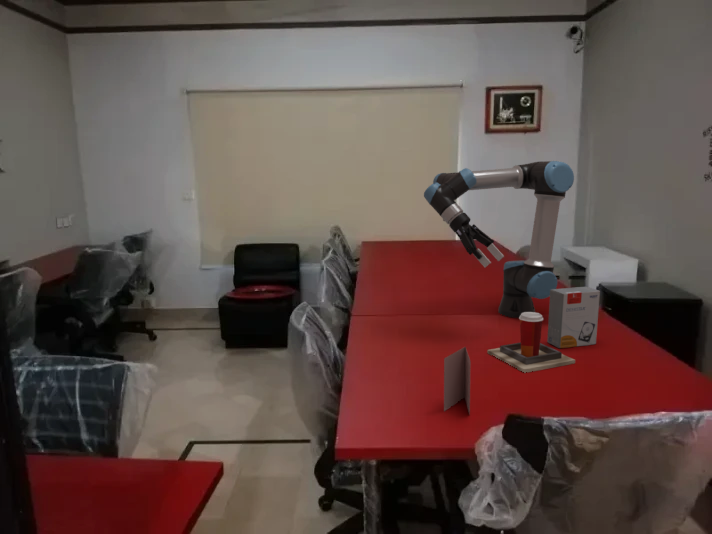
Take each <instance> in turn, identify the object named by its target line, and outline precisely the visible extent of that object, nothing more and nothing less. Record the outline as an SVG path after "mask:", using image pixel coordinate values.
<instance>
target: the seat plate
mask: <svg viewBox="0 0 712 534" xmlns="http://www.w3.org/2000/svg"><path fill="white" fill-rule="evenodd" d="M487 354H488V355H490V356H492V355H493V356H495V357H496V358H495V357H494V358H495V359H497V358H498V360H499V359H500V361H501V360H502V361H501V362H503V361H504V362H503V363H505V362H506V363H508V364H509V365H508V364H507V365H508V366H510V365H511V366H510V367H512V366H513V367H512V368H514V367H515V368H514V369H516V368H517V369H516V370H518V371H520V372H521V371H522V373H523V372H524V374H526V372H527V373H531V372H532V371H533V372H537V371H542V370H547V369H553V368H557V367H558V368H559V367H563V366H568V365H575V364H576V359H574V358H572V357H569V356H567V355H565V354H563V353H562V352H561V351H559V350H557V349H554V348H553V347H551V346H547V345H545V344H543V343H541V342H540V348H539V355H538V356H532V357H525V356H523V355H521V341H520V342H516V343H515V342H514V343H510V344H504V345H503V344H502V345H500V346H499V347H497V348H491V349H487ZM493 356H492V357H493ZM506 363H505V364H506Z"/></svg>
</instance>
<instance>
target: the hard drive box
mask: <svg viewBox="0 0 712 534" xmlns="http://www.w3.org/2000/svg"><path fill="white" fill-rule="evenodd" d="M600 296H601V291H600V290H598V289H596V288H592V287H589V286H577V287H575V286H574V287H565V288H556V289H551V290H550V296H549V305H548V326H547V338H546V339H547V340H546V341H547V343H548V344H550V345H552V346H554V347H556V348H558V349H564V348H566V349H568V348H572V347H573V348H574V347H583V346H591V345H597V337H598V336H597V333H598V324H599V323H598V321H599V320H598V319H599V310H600V308H599V307H600V298H601V297H600Z"/></svg>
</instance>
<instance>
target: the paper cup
mask: <svg viewBox="0 0 712 534" xmlns="http://www.w3.org/2000/svg"><path fill="white" fill-rule="evenodd" d="M518 319H519V322H520V323H519V326H520V327H519V329H520V331H519V332H520V342H521V355H523V356H525V357H532V356H538V355H539V348H540V343H541V339H542V338H541V337H542V329H543V328H542V327H543V321H544V317H543V315H542V314H541V313H539V312H536V311H535V312H524V313H521V315H520V317H519V318H518Z"/></svg>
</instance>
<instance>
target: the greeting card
mask: <svg viewBox="0 0 712 534" xmlns="http://www.w3.org/2000/svg"><path fill="white" fill-rule="evenodd" d="M443 360H444V361H443V365H444V366H443V367H444V368H443V412H446V411H447V410H448V409H450V408H452V407H454V406H455V405H456V404H457V403H458V401H459V402H460V401H461V399H462V400H463V399H464V400H465V403H466V408H467V411H468V415H469V416H470V415H471V414H470V413H471V359H470V356H469V353H468V350H467V347H466V346H464V347H462V348H461V349H458V350H457V351H455V352H453V353H452V354H450V355H448V356H446V357H444V358H443ZM451 406H452V407H451Z"/></svg>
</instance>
